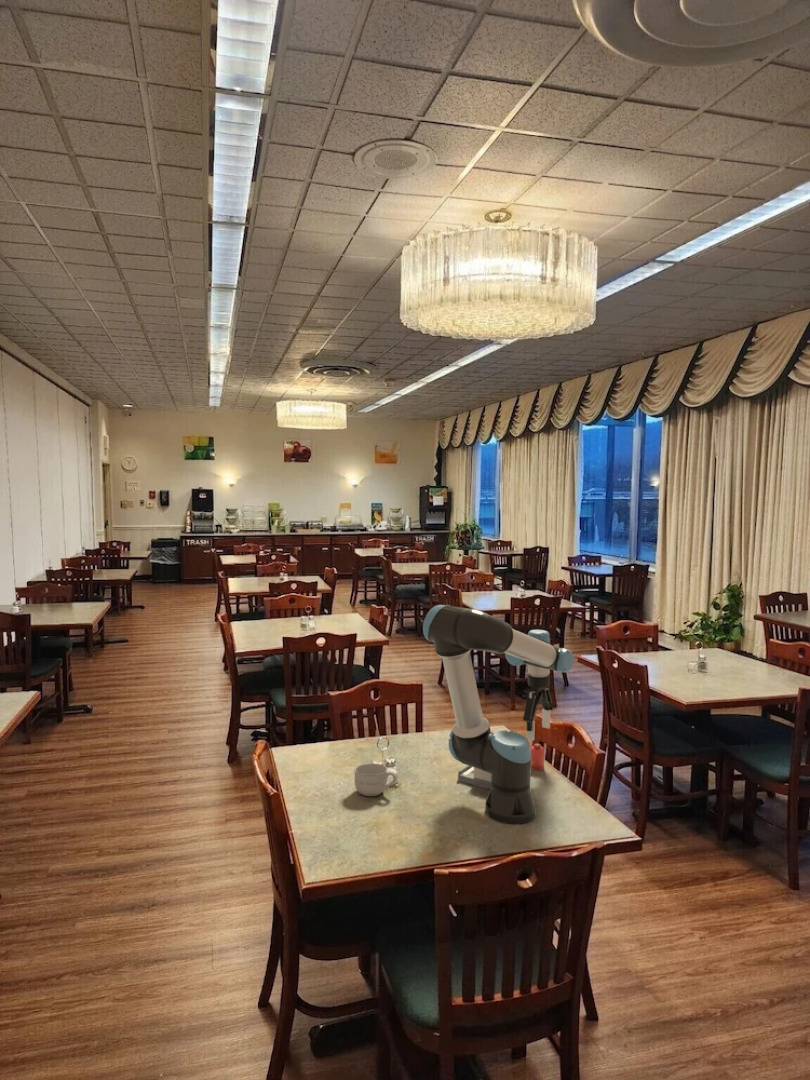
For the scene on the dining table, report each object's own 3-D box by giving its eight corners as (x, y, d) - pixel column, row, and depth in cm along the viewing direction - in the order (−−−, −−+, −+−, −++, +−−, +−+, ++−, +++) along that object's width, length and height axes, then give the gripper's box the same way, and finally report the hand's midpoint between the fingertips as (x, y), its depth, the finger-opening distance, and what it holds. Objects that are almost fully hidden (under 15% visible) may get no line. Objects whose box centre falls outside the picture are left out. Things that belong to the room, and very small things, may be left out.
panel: (531, 765, 233) (531, 757, 233) (498, 791, 212) (498, 782, 212) (493, 755, 242) (493, 748, 242) (458, 780, 221) (458, 771, 220)
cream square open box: (510, 774, 220) (510, 755, 220) (498, 784, 213) (498, 764, 212) (486, 768, 225) (486, 749, 225) (473, 777, 218) (474, 758, 218)
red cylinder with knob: (546, 766, 232) (546, 743, 232) (541, 771, 228) (541, 748, 228) (533, 763, 235) (533, 741, 234) (528, 768, 230) (528, 745, 230)
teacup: (347, 795, 209) (347, 771, 209) (365, 782, 219) (365, 759, 218) (385, 804, 203) (385, 779, 202) (402, 791, 212) (402, 767, 212)
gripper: (542, 665, 242) (542, 721, 243) (513, 681, 221) (513, 742, 223) (562, 667, 237) (561, 725, 239) (533, 684, 217) (533, 747, 219)
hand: (538, 733), depth 231 cm, fingers open, 13 cm apart
